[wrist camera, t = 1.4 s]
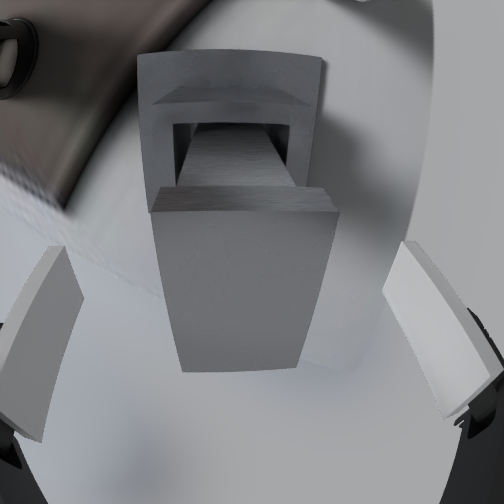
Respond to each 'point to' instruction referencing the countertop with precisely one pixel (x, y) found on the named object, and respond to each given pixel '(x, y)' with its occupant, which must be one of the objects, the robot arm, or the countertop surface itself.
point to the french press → (20, 53)
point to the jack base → (224, 105)
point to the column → (240, 252)
